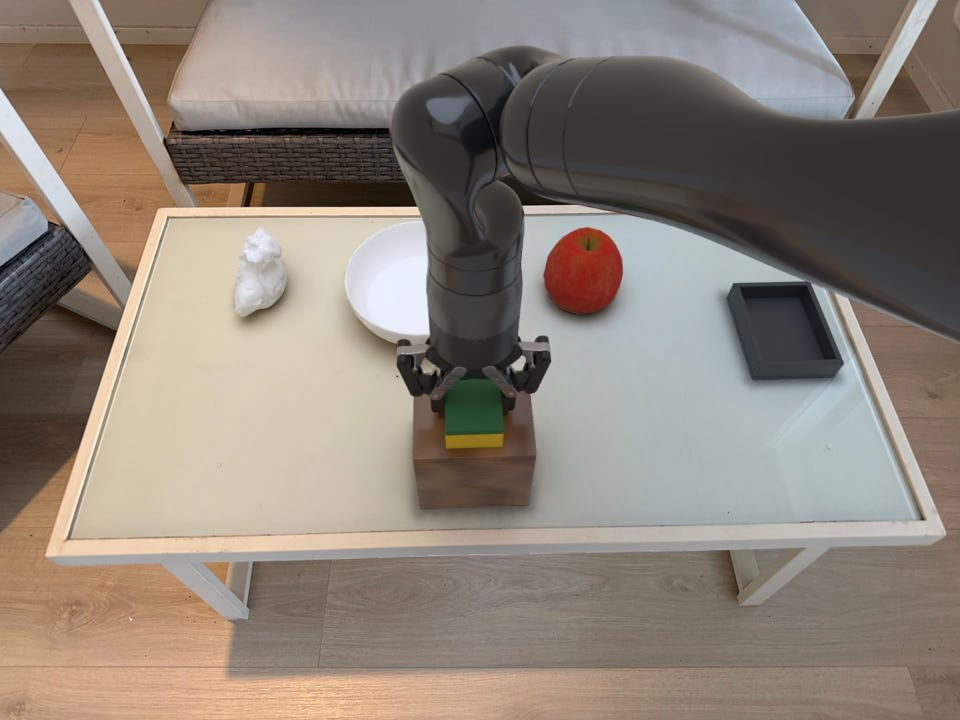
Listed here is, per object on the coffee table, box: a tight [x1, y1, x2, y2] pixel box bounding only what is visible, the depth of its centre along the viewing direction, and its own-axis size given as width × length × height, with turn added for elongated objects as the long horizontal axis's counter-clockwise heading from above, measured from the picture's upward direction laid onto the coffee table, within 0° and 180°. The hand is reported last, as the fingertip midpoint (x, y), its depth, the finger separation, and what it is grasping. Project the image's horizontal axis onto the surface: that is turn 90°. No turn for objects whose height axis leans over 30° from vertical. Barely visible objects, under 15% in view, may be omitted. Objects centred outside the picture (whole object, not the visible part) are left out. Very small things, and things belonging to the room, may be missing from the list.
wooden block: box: [412, 369, 538, 510], centre depth 75 cm, size 12×10×12 cm
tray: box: [726, 280, 845, 381], centre depth 90 cm, size 13×10×3 cm
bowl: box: [343, 220, 430, 345], centre depth 91 cm, size 20×20×6 cm
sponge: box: [445, 379, 504, 449], centre depth 69 cm, size 8×6×4 cm
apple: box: [542, 226, 624, 315], centre depth 91 cm, size 10×10×10 cm
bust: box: [234, 227, 288, 318], centre depth 91 cm, size 12×8×11 cm
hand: (473, 408), depth 69 cm, fingers closed on sponge, 5 cm apart
